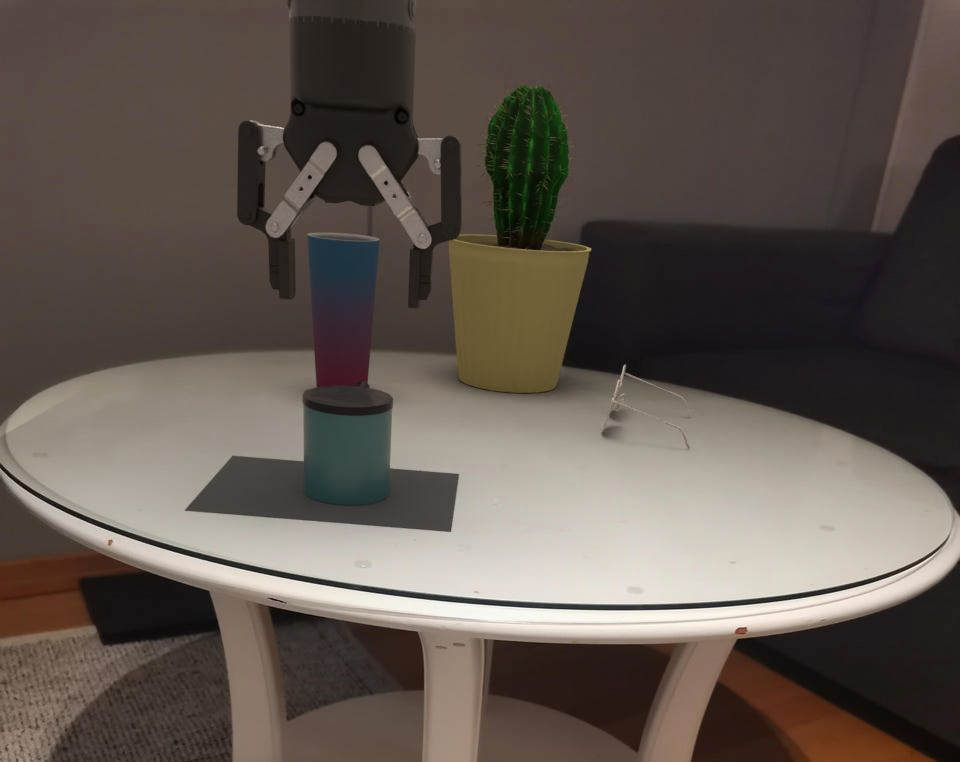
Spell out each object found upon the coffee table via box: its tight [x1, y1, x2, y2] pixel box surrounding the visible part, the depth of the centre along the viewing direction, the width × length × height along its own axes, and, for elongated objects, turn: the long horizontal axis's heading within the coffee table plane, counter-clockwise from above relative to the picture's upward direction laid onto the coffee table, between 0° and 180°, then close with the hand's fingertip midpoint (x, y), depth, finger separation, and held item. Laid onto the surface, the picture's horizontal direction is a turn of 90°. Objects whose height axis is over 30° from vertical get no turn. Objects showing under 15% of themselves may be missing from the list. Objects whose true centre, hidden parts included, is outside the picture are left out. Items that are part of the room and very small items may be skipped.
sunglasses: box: [601, 364, 693, 450], centre depth 96 cm, size 14×8×5 cm, turn 168°
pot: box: [302, 381, 394, 505], centre depth 72 cm, size 6×12×7 cm, turn 179°
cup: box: [306, 232, 380, 388], centre depth 96 cm, size 7×7×15 cm
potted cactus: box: [448, 79, 592, 394], centre depth 104 cm, size 15×15×30 cm
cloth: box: [184, 455, 460, 533], centre depth 71 cm, size 18×13×1 cm
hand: (350, 302), depth 65 cm, fingers open, 8 cm apart
